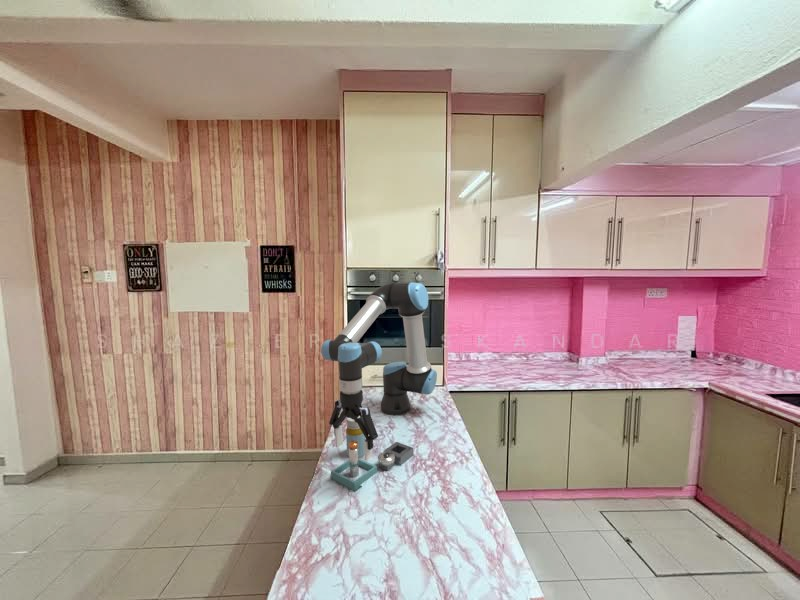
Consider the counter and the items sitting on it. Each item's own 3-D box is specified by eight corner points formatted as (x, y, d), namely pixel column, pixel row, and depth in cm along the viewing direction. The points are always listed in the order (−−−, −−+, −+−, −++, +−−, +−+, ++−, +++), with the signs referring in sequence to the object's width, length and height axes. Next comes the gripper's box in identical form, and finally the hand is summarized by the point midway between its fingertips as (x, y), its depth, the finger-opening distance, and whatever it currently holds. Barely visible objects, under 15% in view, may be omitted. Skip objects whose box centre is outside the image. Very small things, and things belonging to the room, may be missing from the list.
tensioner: (390, 477, 116) (389, 461, 115) (372, 469, 120) (372, 454, 120) (413, 458, 127) (413, 444, 126) (396, 451, 131) (396, 438, 131)
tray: (354, 464, 124) (353, 456, 123) (377, 474, 117) (377, 466, 117) (331, 479, 115) (330, 471, 115) (354, 492, 108) (354, 483, 108)
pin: (354, 471, 118) (353, 439, 117) (360, 475, 116) (359, 442, 115) (348, 476, 116) (346, 443, 114) (354, 479, 114) (353, 446, 113)
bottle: (362, 461, 125) (361, 422, 124) (344, 460, 126) (342, 421, 125) (368, 451, 132) (366, 414, 130) (350, 450, 133) (349, 413, 132)
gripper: (317, 386, 117) (320, 445, 119) (372, 402, 102) (374, 469, 105) (333, 380, 123) (336, 436, 125) (387, 394, 108) (389, 457, 111)
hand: (353, 451), depth 115 cm, fingers open, 13 cm apart
